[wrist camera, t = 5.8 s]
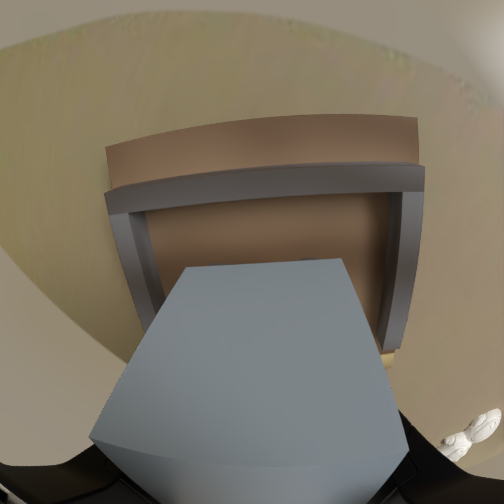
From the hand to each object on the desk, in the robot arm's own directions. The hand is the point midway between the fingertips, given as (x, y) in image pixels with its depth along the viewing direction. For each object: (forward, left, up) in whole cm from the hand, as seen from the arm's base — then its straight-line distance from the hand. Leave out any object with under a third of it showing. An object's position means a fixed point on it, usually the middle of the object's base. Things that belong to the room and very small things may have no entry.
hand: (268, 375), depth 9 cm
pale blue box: (0, 0, -3) cm, 2 cm away
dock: (+1, 0, -8) cm, 8 cm away
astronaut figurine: (-28, -25, -8) cm, 38 cm away
